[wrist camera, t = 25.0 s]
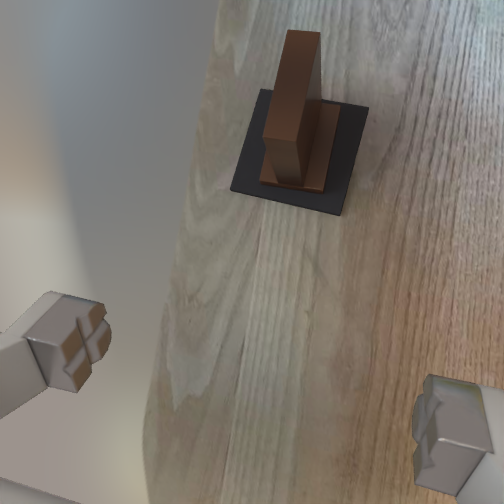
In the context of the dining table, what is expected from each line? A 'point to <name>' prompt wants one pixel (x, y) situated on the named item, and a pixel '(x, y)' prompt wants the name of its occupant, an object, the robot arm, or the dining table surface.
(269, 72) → the dining table surface
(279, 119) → the brown upright sign stand
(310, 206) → the mat
